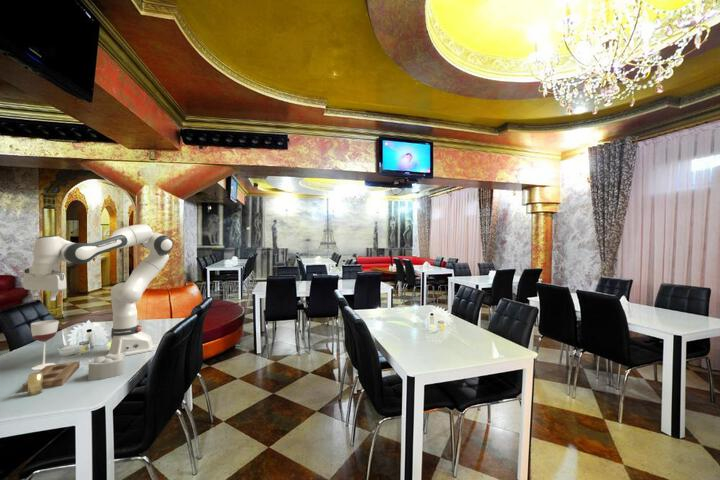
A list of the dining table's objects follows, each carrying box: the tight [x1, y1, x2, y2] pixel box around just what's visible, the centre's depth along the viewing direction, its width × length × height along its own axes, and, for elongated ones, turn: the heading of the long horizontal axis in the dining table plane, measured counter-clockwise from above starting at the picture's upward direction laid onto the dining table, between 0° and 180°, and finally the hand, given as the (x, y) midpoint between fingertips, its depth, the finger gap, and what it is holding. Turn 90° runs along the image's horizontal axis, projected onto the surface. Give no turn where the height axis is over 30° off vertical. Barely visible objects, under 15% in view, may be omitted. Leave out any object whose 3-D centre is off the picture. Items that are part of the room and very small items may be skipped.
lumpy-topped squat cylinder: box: [87, 353, 126, 381], centre depth 139 cm, size 10×13×9 cm
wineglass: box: [30, 319, 59, 371], centre depth 148 cm, size 9×10×22 cm
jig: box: [22, 360, 81, 393], centre depth 134 cm, size 12×22×3 cm, turn 29°
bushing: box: [27, 371, 43, 397], centre depth 121 cm, size 4×4×8 cm
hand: (44, 299), depth 137 cm, fingers open, 8 cm apart
